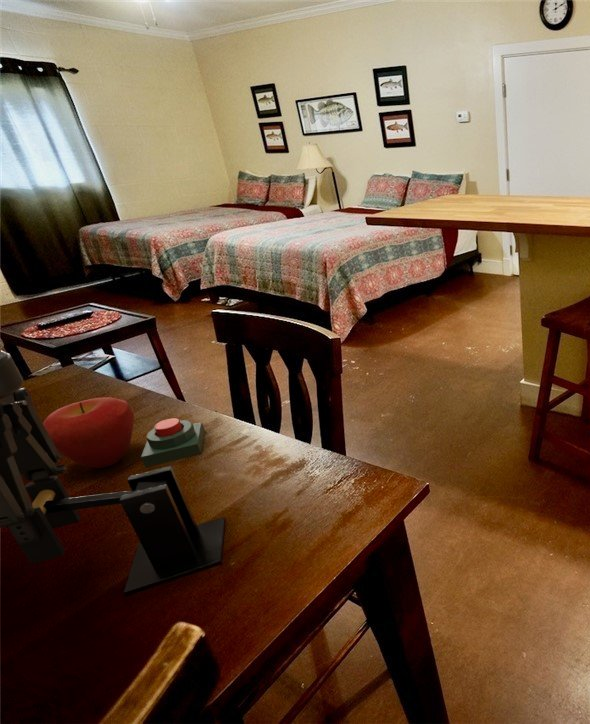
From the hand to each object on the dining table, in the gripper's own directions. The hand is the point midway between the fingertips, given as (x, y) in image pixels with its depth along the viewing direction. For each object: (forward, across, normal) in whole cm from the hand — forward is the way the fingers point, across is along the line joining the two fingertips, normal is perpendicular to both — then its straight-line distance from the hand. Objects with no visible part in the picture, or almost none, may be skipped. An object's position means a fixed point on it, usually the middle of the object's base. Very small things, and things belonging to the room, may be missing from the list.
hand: (57, 539), depth 55 cm
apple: (+9, +31, +4) cm, 33 cm away
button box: (+8, +30, -6) cm, 32 cm away
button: (+5, +30, -6) cm, 31 cm away
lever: (-3, 0, -5) cm, 6 cm away
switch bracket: (+8, 0, -10) cm, 13 cm away
